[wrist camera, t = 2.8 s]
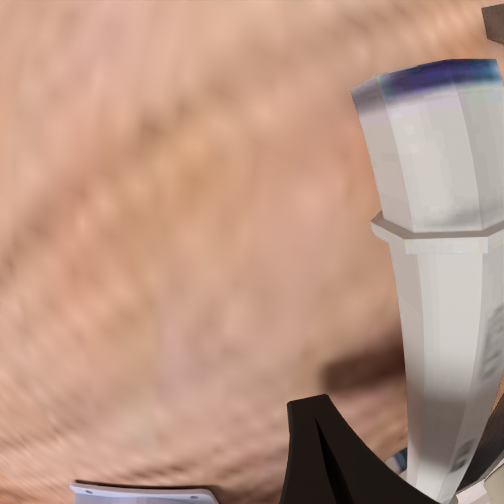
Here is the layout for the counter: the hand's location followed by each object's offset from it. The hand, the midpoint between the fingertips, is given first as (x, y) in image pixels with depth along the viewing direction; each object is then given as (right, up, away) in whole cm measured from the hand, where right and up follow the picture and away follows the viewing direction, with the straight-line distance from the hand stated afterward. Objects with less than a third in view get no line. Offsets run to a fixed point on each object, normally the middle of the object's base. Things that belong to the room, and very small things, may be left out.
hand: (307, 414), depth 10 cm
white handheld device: (+6, 0, +3) cm, 6 cm away
